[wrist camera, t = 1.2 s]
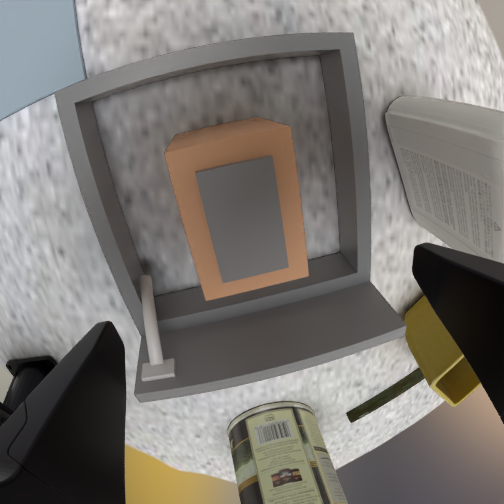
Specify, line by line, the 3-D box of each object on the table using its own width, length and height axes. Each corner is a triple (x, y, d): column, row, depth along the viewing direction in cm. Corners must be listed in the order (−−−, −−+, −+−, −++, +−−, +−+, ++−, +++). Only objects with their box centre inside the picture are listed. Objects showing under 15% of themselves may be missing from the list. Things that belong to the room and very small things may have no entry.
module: (201, 238, 21) (206, 305, 14) (175, 134, 18) (163, 155, 11) (275, 221, 21) (311, 280, 15) (257, 117, 18) (293, 127, 11)
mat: (-29, 138, 14) (-32, 139, 14) (-42, 12, 9) (-45, 11, 9) (86, 79, 15) (84, 79, 15) (70, -56, 10) (68, -58, 9)
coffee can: (259, 453, 36) (282, 546, 23) (208, 428, 31) (224, 544, 19) (328, 420, 34) (367, 516, 22) (288, 388, 30) (330, 514, 17)
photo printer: (447, 205, 23) (557, 278, 12) (411, 228, 23) (519, 318, 13) (417, 87, 18) (565, 114, 7) (373, 107, 19) (527, 142, 8)
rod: (346, 412, 35) (352, 425, 33) (344, 410, 34) (350, 422, 33) (527, 274, 31) (536, 281, 29) (527, 270, 31) (537, 277, 29)
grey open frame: (149, 318, 23) (139, 402, 16) (74, 92, 15) (5, 95, 8) (352, 269, 24) (404, 335, 17) (331, 39, 16) (406, 17, 9)
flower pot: (379, 317, 27) (429, 387, 19) (445, 251, 25) (510, 306, 17) (413, 350, 31) (453, 408, 23) (468, 296, 29) (517, 346, 21)
